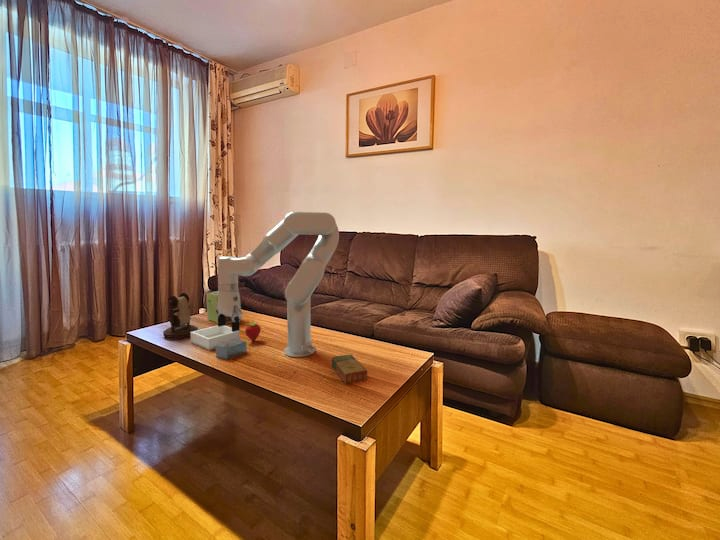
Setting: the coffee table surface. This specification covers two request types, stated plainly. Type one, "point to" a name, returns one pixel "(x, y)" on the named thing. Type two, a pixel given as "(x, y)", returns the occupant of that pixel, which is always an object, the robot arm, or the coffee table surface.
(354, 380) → the carton
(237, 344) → the block
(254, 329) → the strawberry
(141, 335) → the coffee table surface
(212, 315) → the protein box
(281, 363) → the coffee table surface
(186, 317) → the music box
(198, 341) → the tote
